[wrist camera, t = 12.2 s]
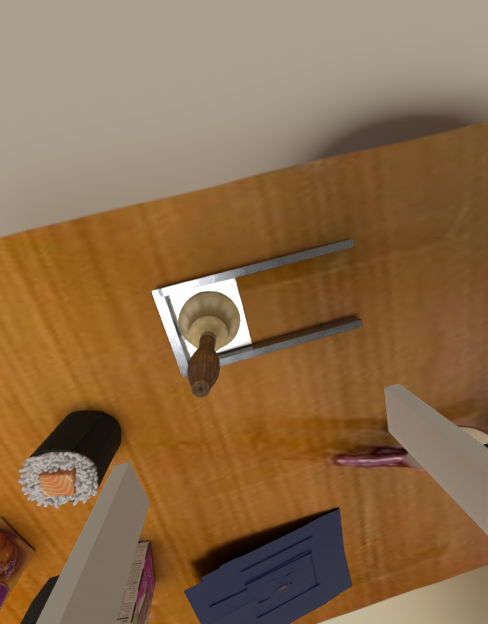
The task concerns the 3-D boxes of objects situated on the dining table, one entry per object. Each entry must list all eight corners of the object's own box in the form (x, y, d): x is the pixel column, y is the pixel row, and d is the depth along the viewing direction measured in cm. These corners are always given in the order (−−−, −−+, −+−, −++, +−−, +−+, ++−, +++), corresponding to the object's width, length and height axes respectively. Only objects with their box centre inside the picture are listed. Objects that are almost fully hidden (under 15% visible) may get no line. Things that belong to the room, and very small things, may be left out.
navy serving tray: (180, 563, 41) (180, 591, 37) (330, 493, 46) (342, 512, 42) (216, 639, 47) (218, 669, 44) (344, 570, 52) (355, 592, 49)
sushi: (57, 410, 32) (7, 460, 24) (120, 410, 33) (92, 457, 26) (63, 457, 34) (18, 517, 26) (123, 455, 35) (97, 512, 28)
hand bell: (209, 361, 33) (204, 457, 17) (165, 321, 30) (113, 391, 15) (252, 321, 32) (287, 385, 16) (210, 277, 30) (204, 304, 14)
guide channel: (354, 322, 34) (362, 326, 32) (184, 369, 33) (182, 376, 31) (344, 239, 31) (353, 238, 29) (155, 288, 30) (151, 291, 28)
